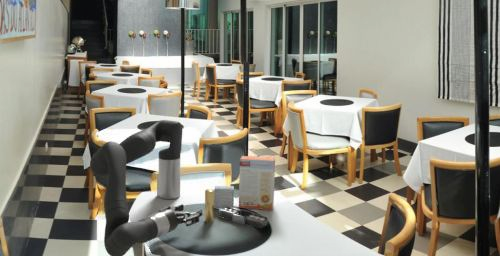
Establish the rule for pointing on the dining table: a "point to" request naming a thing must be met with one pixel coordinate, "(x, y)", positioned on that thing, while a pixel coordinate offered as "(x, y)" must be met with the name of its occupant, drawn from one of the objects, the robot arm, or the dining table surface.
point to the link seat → (241, 217)
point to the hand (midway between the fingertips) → (192, 209)
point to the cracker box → (256, 182)
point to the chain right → (256, 220)
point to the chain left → (229, 212)
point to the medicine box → (224, 196)
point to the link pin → (209, 205)
